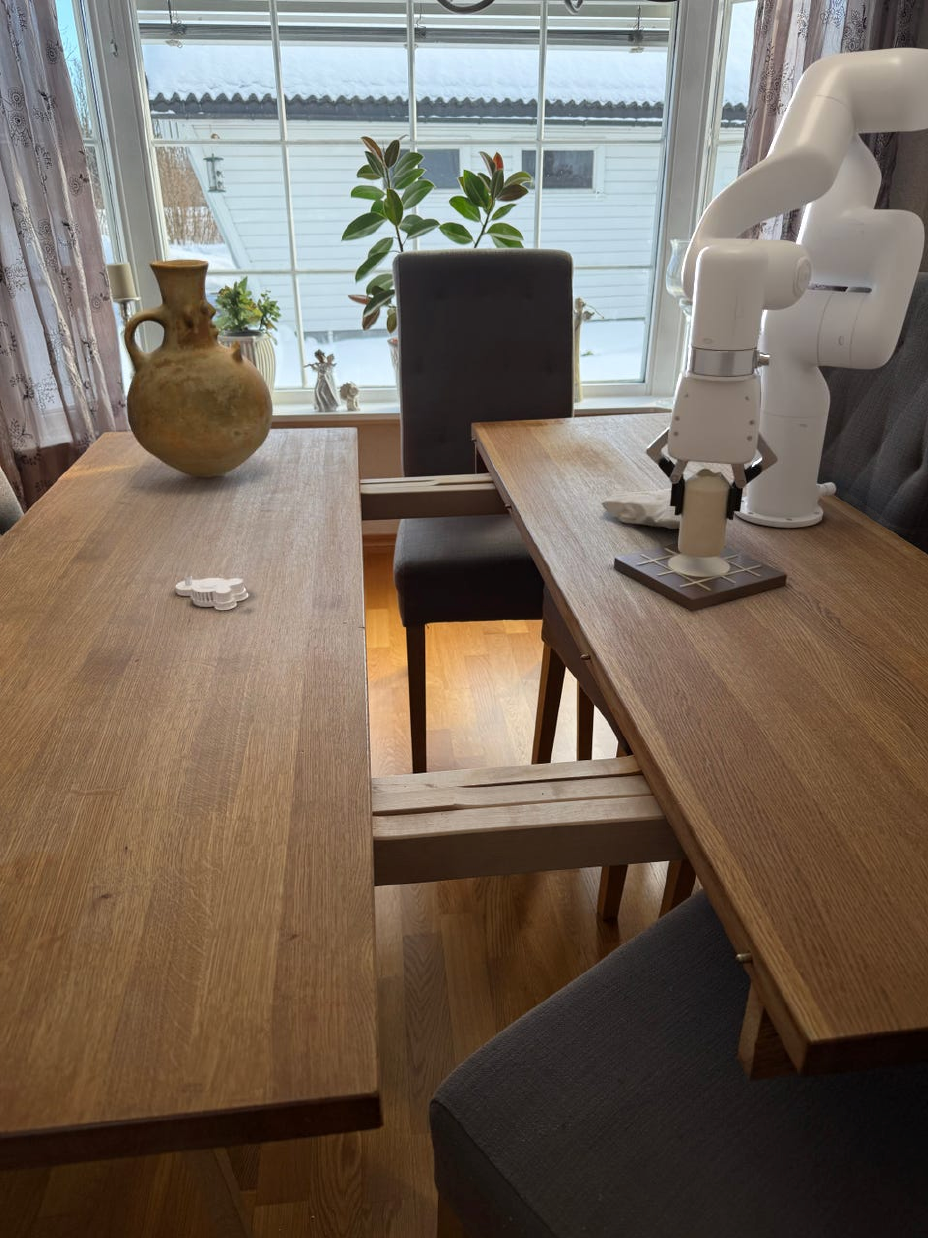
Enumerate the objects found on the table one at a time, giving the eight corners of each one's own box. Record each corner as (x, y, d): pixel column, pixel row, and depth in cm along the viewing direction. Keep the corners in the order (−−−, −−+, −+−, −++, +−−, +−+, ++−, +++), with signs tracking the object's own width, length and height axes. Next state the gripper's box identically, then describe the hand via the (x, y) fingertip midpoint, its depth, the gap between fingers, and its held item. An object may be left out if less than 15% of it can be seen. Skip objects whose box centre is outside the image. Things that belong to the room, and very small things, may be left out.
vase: (133, 501, 142) (89, 268, 127) (145, 461, 163) (109, 257, 148) (283, 489, 147) (258, 263, 132) (276, 451, 168) (254, 253, 153)
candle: (672, 543, 112) (679, 466, 108) (714, 541, 113) (723, 464, 108) (685, 559, 108) (693, 479, 103) (729, 557, 108) (739, 477, 104)
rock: (596, 546, 122) (708, 543, 119) (594, 513, 121) (708, 509, 117) (608, 507, 142) (705, 504, 138) (607, 479, 140) (705, 475, 136)
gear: (254, 582, 112) (252, 567, 111) (245, 611, 104) (243, 595, 103) (179, 586, 111) (176, 570, 110) (165, 615, 104) (162, 599, 103)
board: (702, 546, 121) (703, 535, 120) (785, 585, 109) (787, 573, 108) (613, 568, 115) (614, 556, 114) (691, 611, 103) (692, 598, 102)
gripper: (799, 359, 101) (777, 510, 109) (648, 354, 106) (637, 499, 114) (802, 371, 95) (778, 530, 103) (640, 365, 99) (629, 518, 107)
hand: (704, 512), depth 108 cm, fingers closed on candle, 5 cm apart
